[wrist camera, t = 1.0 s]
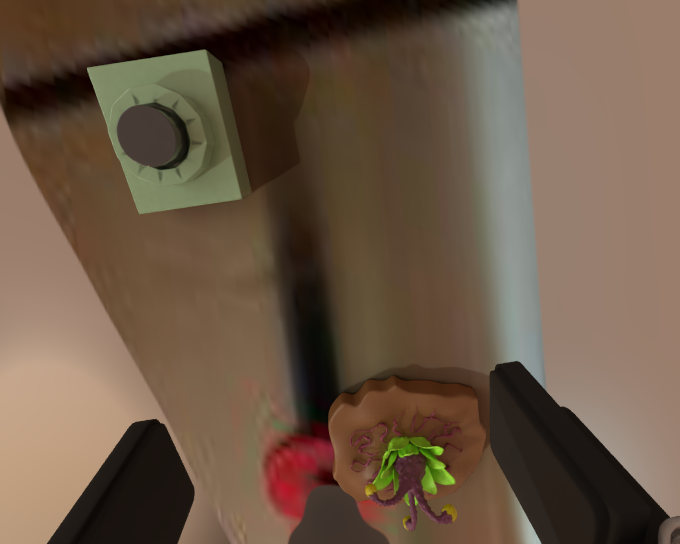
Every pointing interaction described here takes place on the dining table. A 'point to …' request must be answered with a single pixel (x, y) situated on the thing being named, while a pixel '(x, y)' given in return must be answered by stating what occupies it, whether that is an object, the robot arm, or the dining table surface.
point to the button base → (197, 119)
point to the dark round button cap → (151, 136)
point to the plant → (406, 443)
